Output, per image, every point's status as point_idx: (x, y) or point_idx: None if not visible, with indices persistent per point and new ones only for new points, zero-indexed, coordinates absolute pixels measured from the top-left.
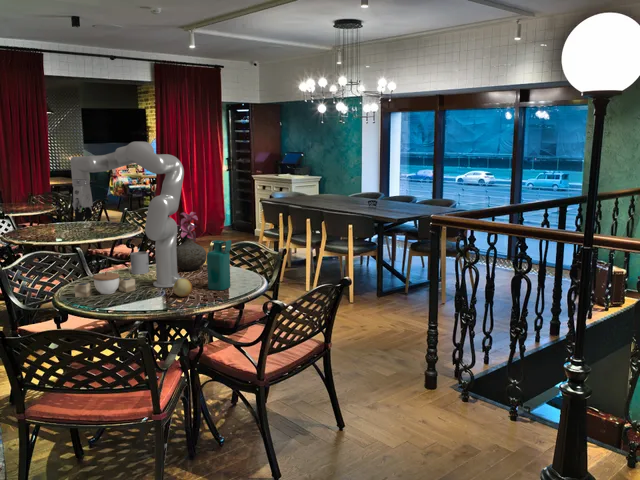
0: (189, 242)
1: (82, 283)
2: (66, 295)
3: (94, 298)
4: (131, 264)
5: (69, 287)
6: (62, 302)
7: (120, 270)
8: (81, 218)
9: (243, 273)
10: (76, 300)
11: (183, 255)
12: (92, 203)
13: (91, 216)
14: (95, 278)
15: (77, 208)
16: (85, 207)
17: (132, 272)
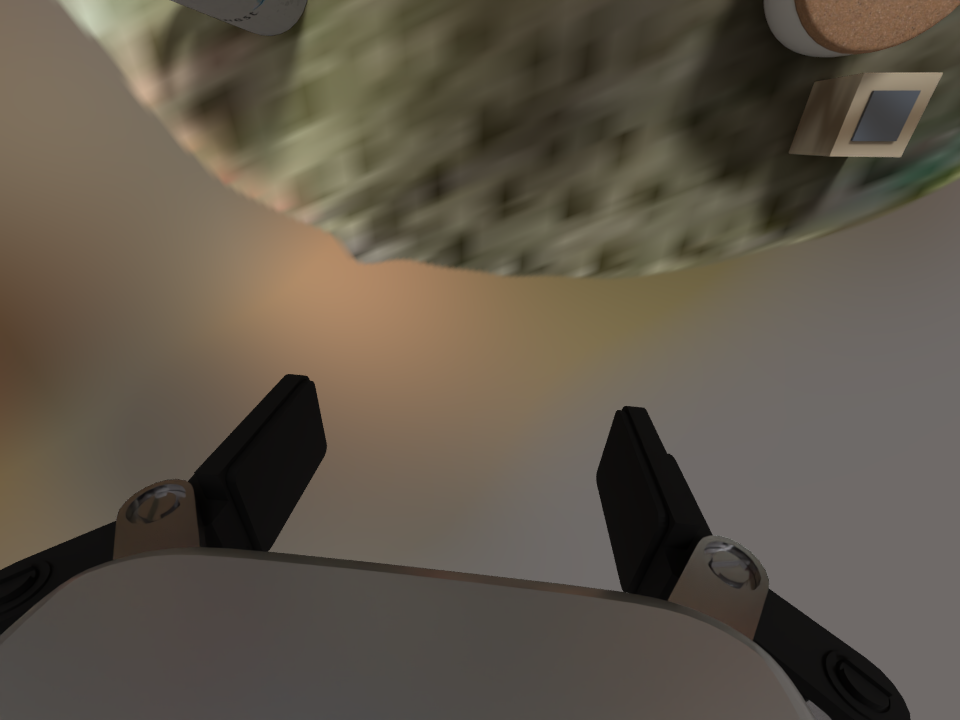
0: None
1: (867, 125)
2: (793, 215)
3: None
4: (264, 2)
5: (622, 265)
6: (950, 175)
7: (240, 142)
8: (655, 432)
9: None
10: (943, 113)
11: None
12: (37, 617)
13: (293, 387)
14: (957, 4)
15: (876, 675)
16: (594, 588)
17: (298, 9)
